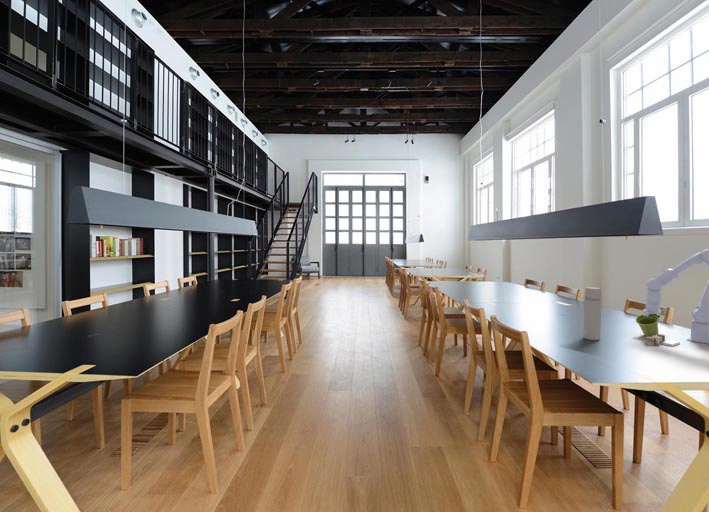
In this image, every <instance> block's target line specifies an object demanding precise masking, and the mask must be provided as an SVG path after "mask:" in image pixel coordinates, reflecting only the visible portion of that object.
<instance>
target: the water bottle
mask: <svg viewBox="0 0 709 512" xmlns="http://www.w3.org/2000/svg"><path fill="white" fill-rule="evenodd" d="M602 293H603V292H602V288H600V287H593V286H590V287H589V286H588V287H587V286H586V287H585V291H584V296H583V297H582V298H584V302H583V303H584V305H583V339H585V340H588V341H599V340H601V329H602V328H601V327H602V324H601V323H602V321H601V320H602V299H603V297H602Z"/></svg>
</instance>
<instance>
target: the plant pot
mask: <svg viewBox="0 0 709 512" xmlns="http://www.w3.org/2000/svg"><path fill="white" fill-rule="evenodd" d="M656 315H657V314H656ZM656 315H654V314H651V315H649V316H648V317H647V316H643V314H639V315H637V317H635V322H636V324H638V326H639V328H640V330H641V332H642V333H643V335H644V336H645V337H648V336H649V337H651V336H657V334H659V325H658V322H659V319H660V317H659V318H658V317H657V316H656Z"/></svg>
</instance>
